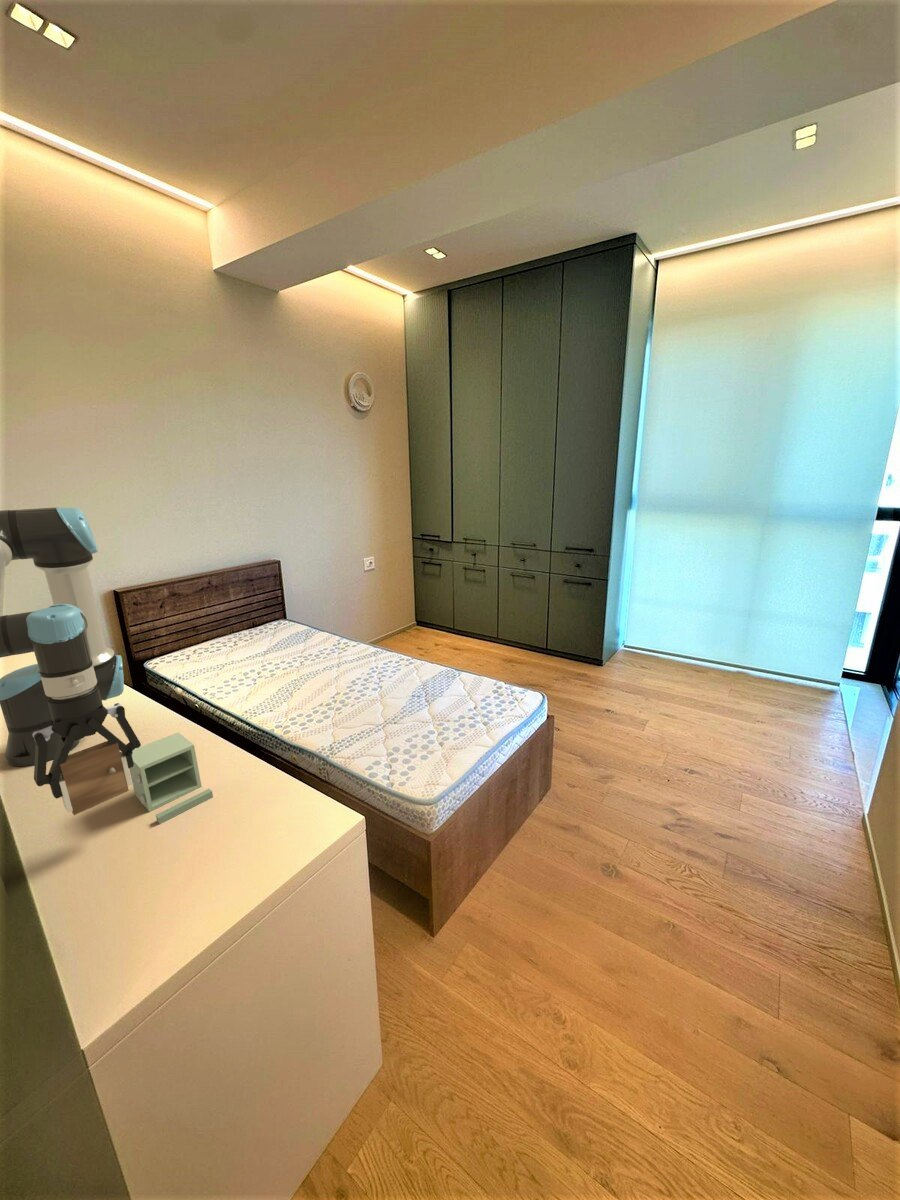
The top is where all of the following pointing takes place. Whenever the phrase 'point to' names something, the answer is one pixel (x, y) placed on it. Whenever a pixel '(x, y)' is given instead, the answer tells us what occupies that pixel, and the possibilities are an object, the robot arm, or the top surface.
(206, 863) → the top surface
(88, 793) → the brown boxy piece
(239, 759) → the top surface
